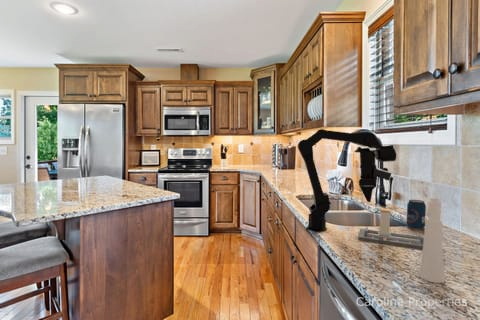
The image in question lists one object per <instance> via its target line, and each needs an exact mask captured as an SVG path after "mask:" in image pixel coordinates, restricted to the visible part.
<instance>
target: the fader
mask: <svg viewBox="0 0 480 320" xmlns="http://www.w3.org/2000/svg"><path fill="white" fill-rule="evenodd" d="M379 209H380V210H379V213H380V214H379V217H380V218H379V231H380V232H378V235H385V236H391V233H389V232H390V225H391V221H390V220H391V209H390V208H382V207H381V208H379Z"/></svg>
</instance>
